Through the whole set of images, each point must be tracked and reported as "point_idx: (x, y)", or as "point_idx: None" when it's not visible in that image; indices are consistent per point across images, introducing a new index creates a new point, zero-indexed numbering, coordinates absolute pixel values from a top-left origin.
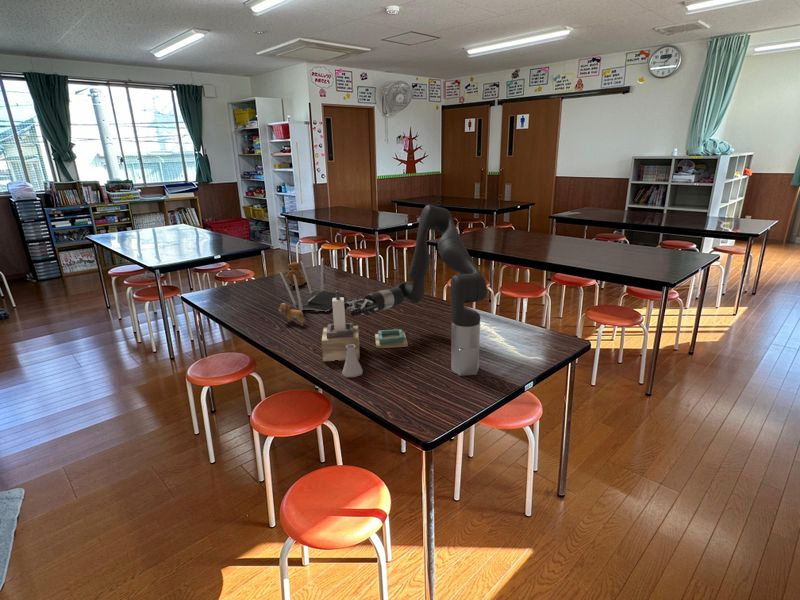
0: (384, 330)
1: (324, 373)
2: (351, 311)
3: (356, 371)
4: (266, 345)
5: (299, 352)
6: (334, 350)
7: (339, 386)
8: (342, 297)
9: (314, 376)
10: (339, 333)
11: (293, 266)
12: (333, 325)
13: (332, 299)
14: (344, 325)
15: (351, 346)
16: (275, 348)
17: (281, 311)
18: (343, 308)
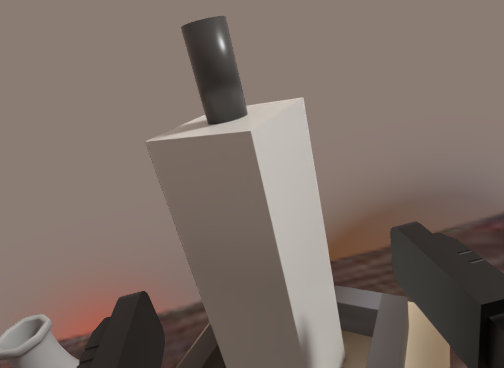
0: None
1: (176, 334)
2: (130, 297)
3: None
4: (498, 220)
5: (400, 292)
6: None
7: (69, 353)
8: (255, 126)
9: (184, 306)
10: (209, 329)
11: None
12: (376, 328)
13: (256, 104)
14: (222, 344)
15: (31, 347)
16: (462, 238)
17: None
18: (175, 216)
